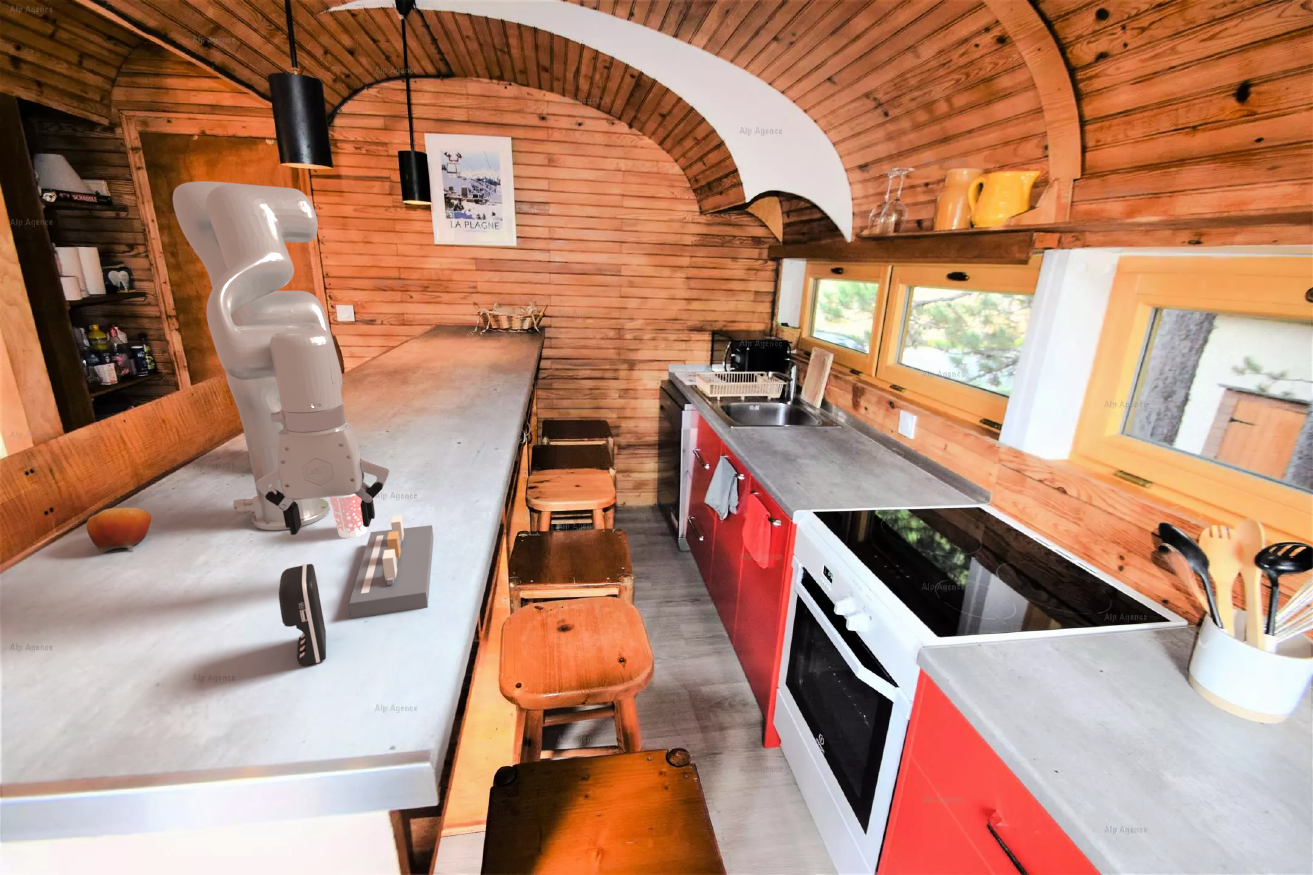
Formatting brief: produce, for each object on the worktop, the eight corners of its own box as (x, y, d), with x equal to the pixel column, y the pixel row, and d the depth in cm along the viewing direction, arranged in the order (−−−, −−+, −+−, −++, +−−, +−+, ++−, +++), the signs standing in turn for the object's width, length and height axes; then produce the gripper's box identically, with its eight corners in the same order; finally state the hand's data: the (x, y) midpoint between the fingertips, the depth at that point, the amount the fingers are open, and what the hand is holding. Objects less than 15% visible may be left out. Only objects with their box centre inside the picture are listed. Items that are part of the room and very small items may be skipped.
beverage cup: (378, 525, 108) (368, 455, 103) (359, 541, 102) (347, 467, 97) (347, 523, 108) (336, 453, 104) (326, 538, 102) (314, 465, 98)
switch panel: (351, 618, 81) (349, 602, 80) (372, 544, 101) (370, 531, 100) (427, 606, 84) (425, 591, 83) (433, 537, 104) (432, 524, 103)
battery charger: (293, 639, 76) (278, 564, 73) (326, 631, 78) (312, 557, 74) (291, 672, 70) (274, 592, 67) (326, 662, 72) (312, 584, 69)
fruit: (78, 558, 91) (75, 508, 93) (100, 560, 98) (97, 514, 100) (143, 547, 95) (140, 500, 96) (160, 551, 102) (156, 506, 103)
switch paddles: (385, 585, 84) (381, 561, 83) (395, 535, 98) (393, 514, 97) (395, 583, 84) (392, 559, 83) (404, 534, 99) (402, 513, 98)
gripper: (234, 430, 76) (258, 546, 81) (378, 422, 81) (392, 531, 86) (252, 415, 82) (274, 522, 88) (384, 408, 88) (397, 510, 93)
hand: (332, 526), depth 87 cm, fingers open, 9 cm apart
